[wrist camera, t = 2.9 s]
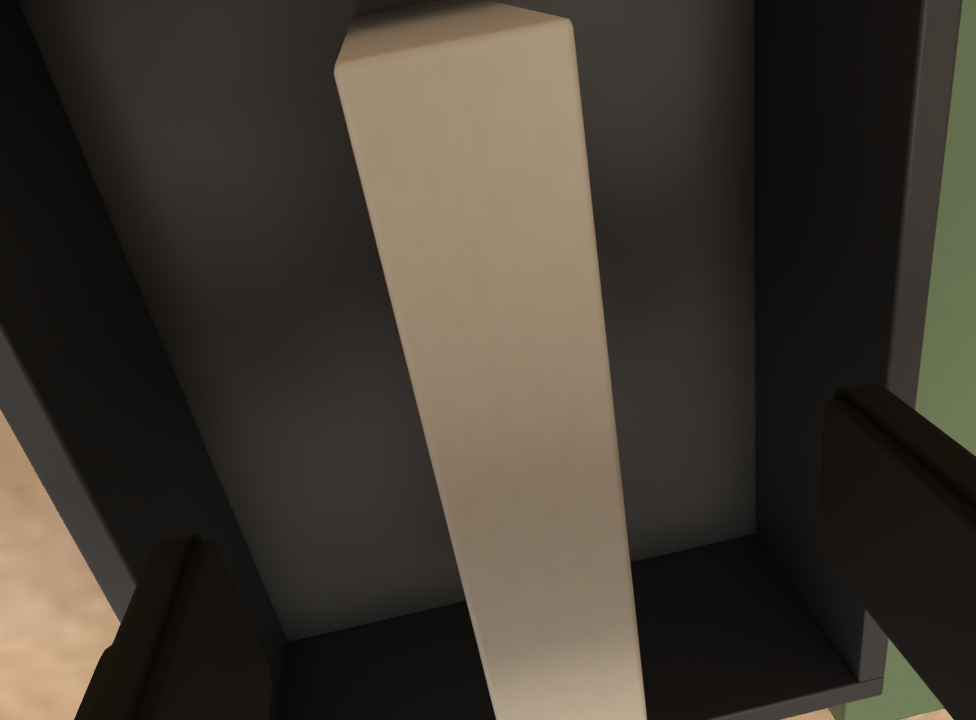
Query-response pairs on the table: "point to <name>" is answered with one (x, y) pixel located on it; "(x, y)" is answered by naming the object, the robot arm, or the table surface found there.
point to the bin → (378, 349)
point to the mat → (943, 341)
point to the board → (503, 335)
